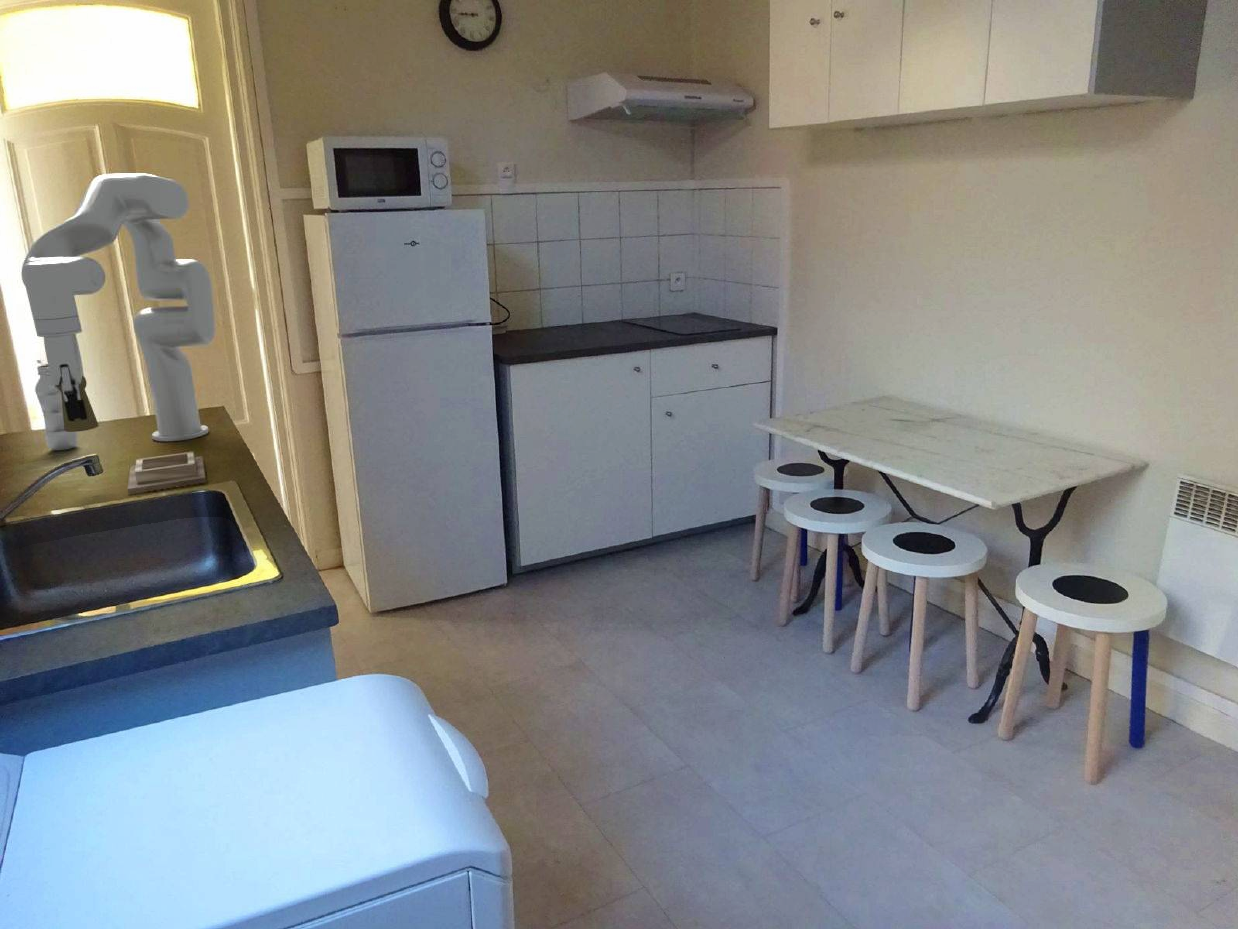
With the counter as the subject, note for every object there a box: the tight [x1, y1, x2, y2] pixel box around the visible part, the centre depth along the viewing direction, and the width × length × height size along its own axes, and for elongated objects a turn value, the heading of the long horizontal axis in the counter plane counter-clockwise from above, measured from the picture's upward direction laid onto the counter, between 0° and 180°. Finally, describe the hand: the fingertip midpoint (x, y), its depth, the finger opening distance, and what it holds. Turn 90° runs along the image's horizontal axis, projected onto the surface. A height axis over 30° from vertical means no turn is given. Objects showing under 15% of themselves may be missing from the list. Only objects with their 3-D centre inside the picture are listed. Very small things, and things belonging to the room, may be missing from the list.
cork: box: [57, 375, 100, 433], centre depth 174 cm, size 6×6×11 cm
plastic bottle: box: [34, 364, 80, 451], centre depth 204 cm, size 6×7×20 cm
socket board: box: [127, 451, 207, 495], centre depth 182 cm, size 18×14×3 cm
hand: (79, 416), depth 175 cm, fingers closed on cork, 4 cm apart
